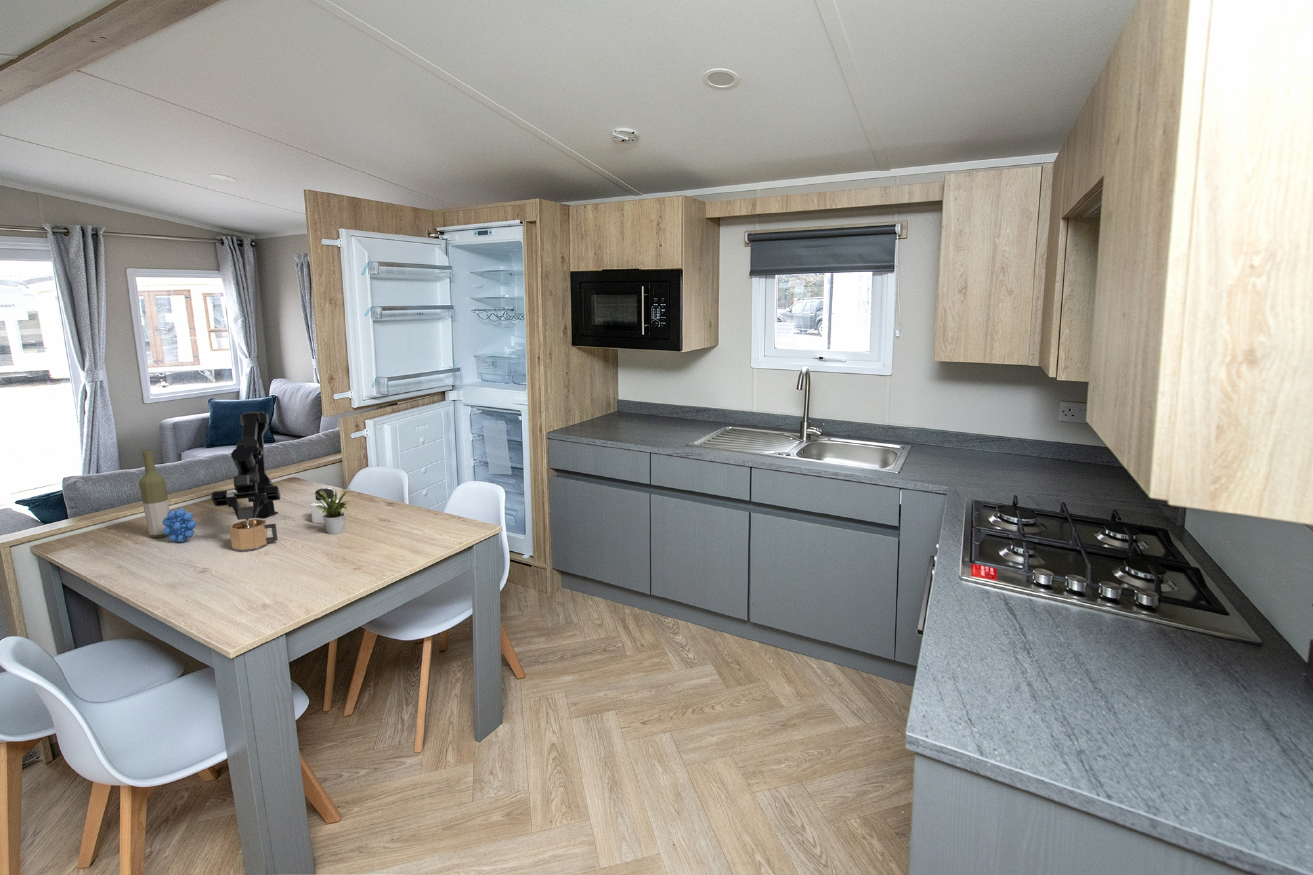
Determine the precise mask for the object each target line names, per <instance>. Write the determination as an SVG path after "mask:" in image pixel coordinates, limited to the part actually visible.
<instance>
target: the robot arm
mask: <svg viewBox="0 0 1313 875" xmlns="http://www.w3.org/2000/svg"><path fill="white" fill-rule="evenodd" d="M239 418H240V425H241V426H242V434H241V439H240V440H239V441H238V442H236V446H235V448H234V449H233V450H232V452H231V453H230V456H231V459H232V462H233V464H234V467H236V469H237V471H236V472H237V475H234V476H233V486H234V491H235V492H234V491H233V492H228V491H227V490H226V489H225V490H224V489H223V490H214V491H213V492H212V493H211V495H210V496H211V501H212V502H213V504H214V506H215V507H222V506H227V507H229V508H232V509H233V511H234V514H235V516H236V518H237V520H238V521H240V520H239V519H238V509H239V508H240V504H239V502H238V500H241V499H242V500H243V499H248V503H252V506H254V509H253V518H252V519H255V518H257V519H266V518H268V517H271V516H274V515H277V514H279V512H278V511H276V509H275V503H274V501H280V500H281V491H280V488H279V486H278V485H274V483H272V480H271V478H270V477H269V475H267V471H266V470H267V468H266V467H267V466H266V456H265V443H264V442H265V441H264V435H265V433H266V432H267V430H268V424H269V423H270V420H269V418H270V417H269V414H268V413H267V412H265V411H250V412H248V411H247V412H244V413H242V414H240V416H239Z"/></svg>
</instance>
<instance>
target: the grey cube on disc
mask: <svg viewBox="0 0 1313 875" xmlns="http://www.w3.org/2000/svg"><path fill="white" fill-rule="evenodd" d="M253 509H254V506H253V505H251V506H241V507H240V506H239V509H238V519H239V520H238V519H237V520H238V521H243V520H246V525H247V527H242V528H240V529H245V528H253V527H256V526H250V525H249V520H252V519H254V518H253Z"/></svg>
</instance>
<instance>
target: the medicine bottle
mask: <svg viewBox="0 0 1313 875" xmlns="http://www.w3.org/2000/svg"><path fill="white" fill-rule="evenodd" d="M321 490H322V491H321ZM332 490H333V497H334V498H335V496H334V495H335V490H334V489H333V488H331V487H322V488H319V489H317V490H315V492H314V495H315V494H316V495H315V497H317V498H315V502H314V503H311V504H310V510H311V519H312V523H313V524H323V525H325V522H324V519H323V516H324V515H325V514H327V513H326V512H324V513H323V510H324V509H323V510H321V509H318V508H320V507H316V506H318V505H322V506H323V504H324V505H325V506H326V507H327V505H326V504H325V503H324V502H323V501H322V500H321V499H320V498H318V496H319V497H322V498H324V497H323V496H322V494H321V493H320V492H322V493H323V494H324V492H325V493H326V495H327V497H328V499H329V501H330V499H332V498H333V497H332ZM323 491H324V492H323ZM317 495H318V496H317ZM324 495H325V494H324ZM324 499H325V498H324ZM318 500H320V501H321V502H322V503H323V504H322V503H321V502H319V501H318ZM338 501H339V499H337V501H336V505H337V503H338ZM340 503H342V501H341V502H340ZM327 509H329V508H328V507H327Z"/></svg>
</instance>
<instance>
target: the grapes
mask: <svg viewBox="0 0 1313 875" xmlns="http://www.w3.org/2000/svg"><path fill="white" fill-rule="evenodd" d="M193 518H194V514H193V513H191V512H190V511H186V509H184V508H182V507H180V508H177V509H176V510H175V509H173V510H172V509H171V510H169V512H168V515H167V518H165V519H164V520H163V522H162V523H163V525H164V526H167V527H165V528H164V530H163V533H164V534H165V535H167V536H169V537H168V540H169V541H170V542H176V541H177V542H179V543H182V544H183V543H185V542H186V541H187V539H190V538H193V537H194V534H195V531H194V530H195V529H196V527H197V522H196V521H195V520H193Z"/></svg>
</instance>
